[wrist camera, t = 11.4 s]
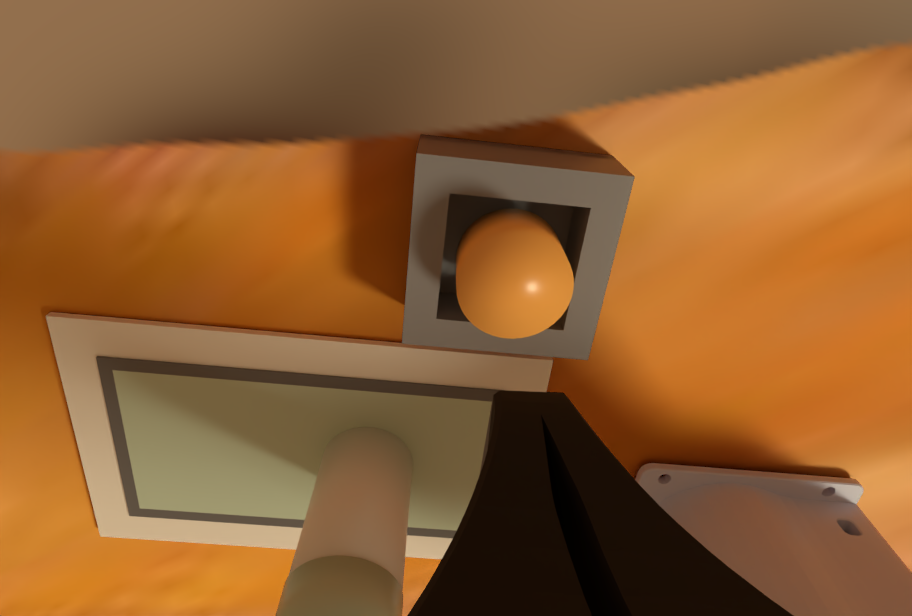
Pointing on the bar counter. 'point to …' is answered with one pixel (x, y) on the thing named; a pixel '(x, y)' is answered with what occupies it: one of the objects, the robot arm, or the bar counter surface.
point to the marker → (353, 530)
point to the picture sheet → (267, 424)
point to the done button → (512, 274)
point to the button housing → (516, 187)
